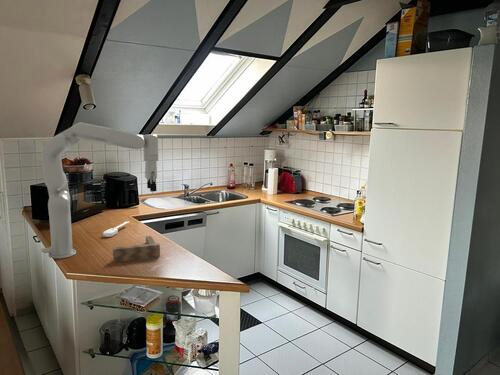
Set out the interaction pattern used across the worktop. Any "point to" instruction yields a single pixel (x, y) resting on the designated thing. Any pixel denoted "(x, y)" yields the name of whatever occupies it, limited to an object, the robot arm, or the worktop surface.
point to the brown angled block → (137, 251)
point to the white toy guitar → (113, 230)
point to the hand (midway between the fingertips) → (151, 189)
